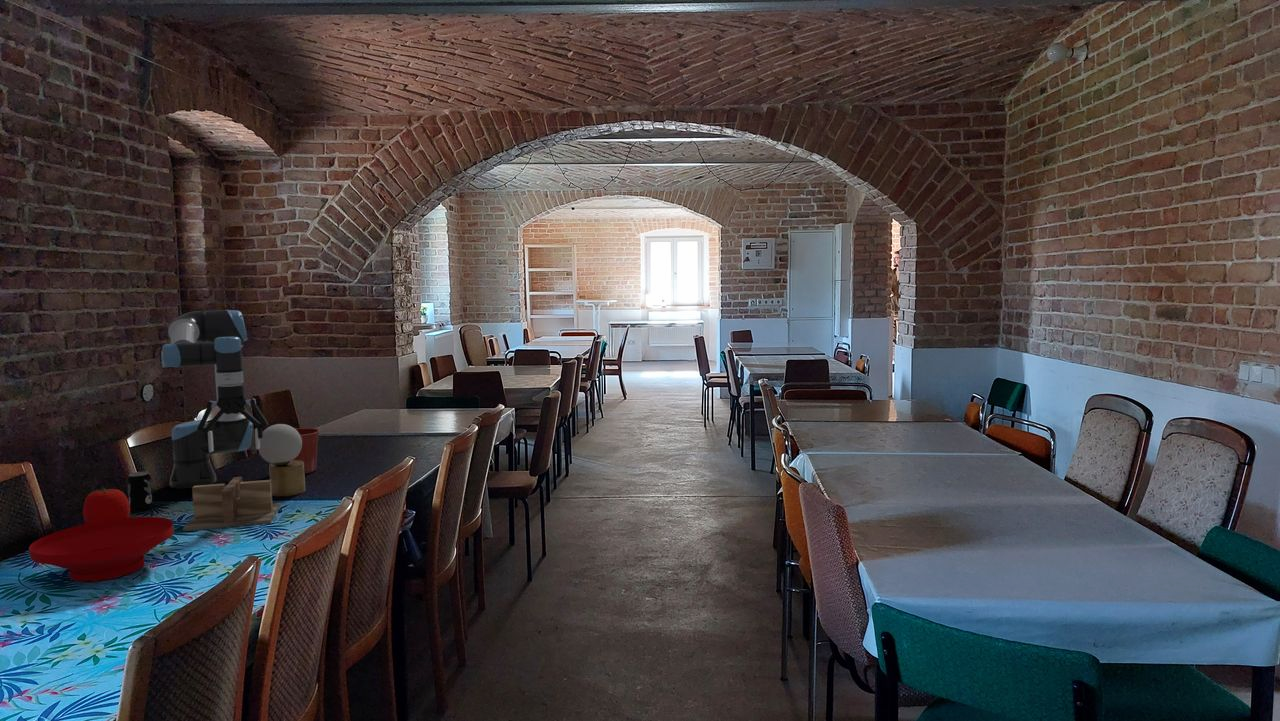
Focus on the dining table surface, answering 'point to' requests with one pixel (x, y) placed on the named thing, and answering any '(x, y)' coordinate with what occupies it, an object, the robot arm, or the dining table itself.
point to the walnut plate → (231, 499)
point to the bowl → (102, 547)
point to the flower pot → (308, 448)
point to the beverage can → (140, 491)
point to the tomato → (105, 506)
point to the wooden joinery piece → (250, 506)
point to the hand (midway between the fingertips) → (234, 450)
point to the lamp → (283, 459)
